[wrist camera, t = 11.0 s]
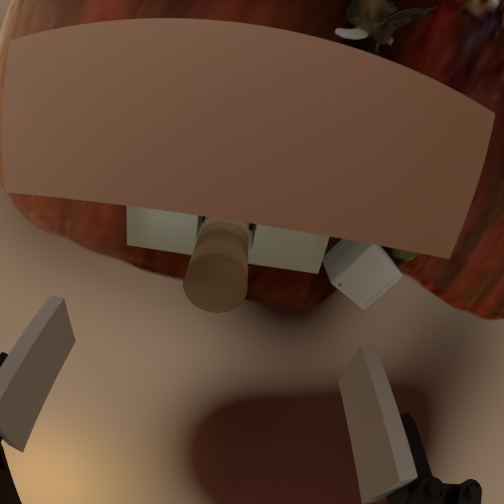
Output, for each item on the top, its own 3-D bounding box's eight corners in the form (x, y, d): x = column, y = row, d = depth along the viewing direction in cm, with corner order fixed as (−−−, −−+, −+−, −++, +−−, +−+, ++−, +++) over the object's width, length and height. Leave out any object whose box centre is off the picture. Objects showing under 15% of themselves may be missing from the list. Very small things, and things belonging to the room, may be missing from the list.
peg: (214, 182, 28) (185, 255, 16) (252, 188, 29) (252, 265, 16) (209, 217, 30) (181, 307, 18) (246, 223, 30) (242, 316, 18)
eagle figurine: (407, 91, 23) (442, 19, 17) (396, 77, 17) (439, -12, 12) (338, 55, 25) (371, -12, 20) (309, 37, 20) (349, -44, 14)
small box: (351, 285, 34) (363, 312, 30) (319, 257, 32) (328, 283, 28) (388, 253, 32) (405, 276, 28) (358, 220, 30) (374, 242, 26)
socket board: (153, 69, 23) (138, 65, 20) (349, 100, 24) (364, 101, 21) (140, 227, 31) (127, 244, 27) (311, 253, 32) (318, 273, 28)
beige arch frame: (133, 60, 19) (10, 40, 7) (371, 97, 21) (495, 113, 8) (124, 136, 22) (5, 192, 10) (353, 171, 24) (448, 259, 11)
